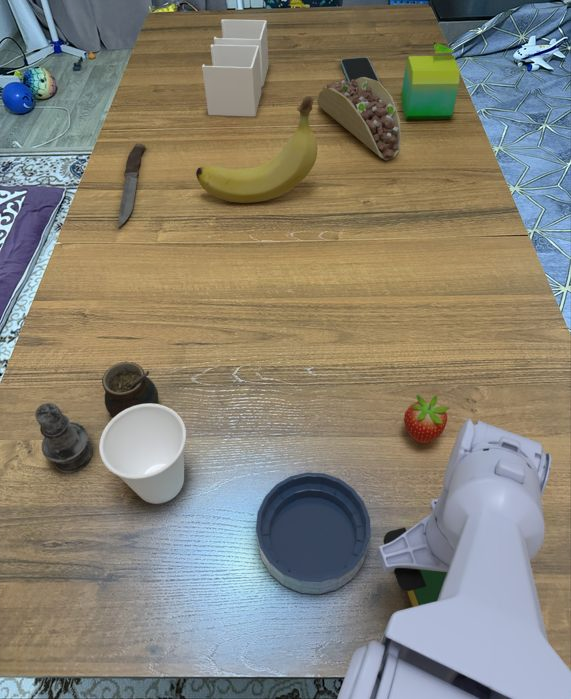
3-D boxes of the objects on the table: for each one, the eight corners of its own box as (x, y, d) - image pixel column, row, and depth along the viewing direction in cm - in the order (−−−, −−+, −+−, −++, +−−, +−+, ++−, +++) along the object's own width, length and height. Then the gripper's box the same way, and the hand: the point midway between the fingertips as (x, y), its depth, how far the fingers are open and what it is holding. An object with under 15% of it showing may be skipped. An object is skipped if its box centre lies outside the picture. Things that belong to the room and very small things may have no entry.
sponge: (458, 617, 63) (466, 608, 61) (420, 628, 63) (426, 619, 60) (433, 556, 68) (439, 545, 65) (397, 565, 67) (401, 554, 64)
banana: (199, 209, 111) (183, 110, 95) (200, 191, 114) (185, 93, 99) (317, 204, 111) (320, 104, 95) (314, 186, 115) (317, 87, 99)
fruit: (413, 459, 76) (423, 427, 70) (393, 428, 79) (401, 395, 73) (448, 444, 77) (461, 411, 71) (427, 415, 80) (437, 380, 74)
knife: (133, 229, 107) (131, 223, 106) (114, 230, 107) (112, 224, 106) (146, 147, 125) (145, 141, 124) (130, 147, 125) (129, 142, 124)
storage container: (255, 116, 132) (252, 68, 124) (208, 114, 133) (202, 66, 125) (268, 66, 148) (266, 20, 139) (226, 65, 149) (221, 19, 140)
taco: (372, 168, 118) (377, 121, 110) (305, 110, 133) (306, 66, 126) (410, 154, 121) (418, 108, 113) (341, 99, 136) (343, 55, 128)
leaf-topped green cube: (450, 123, 129) (465, 54, 117) (406, 123, 129) (417, 54, 117) (442, 99, 136) (456, 31, 124) (400, 99, 136) (410, 32, 124)
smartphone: (352, 88, 138) (339, 59, 147) (351, 93, 139) (339, 63, 148) (381, 86, 138) (367, 56, 147) (381, 90, 139) (367, 61, 148)
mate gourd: (116, 389, 84) (98, 345, 76) (168, 390, 84) (154, 346, 76) (105, 432, 79) (84, 390, 72) (159, 432, 79) (144, 391, 71)
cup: (194, 519, 71) (180, 478, 63) (114, 519, 71) (89, 478, 63) (202, 448, 77) (190, 402, 69) (129, 448, 78) (108, 402, 69)
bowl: (382, 579, 66) (386, 565, 63) (272, 608, 64) (270, 596, 61) (347, 478, 74) (349, 462, 71) (248, 502, 72) (246, 486, 69)
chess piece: (75, 428, 80) (45, 377, 71) (104, 450, 78) (78, 399, 68) (41, 459, 77) (5, 409, 68) (70, 483, 75) (38, 435, 65)
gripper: (522, 458, 53) (485, 518, 64) (372, 495, 51) (360, 550, 62) (563, 530, 49) (516, 582, 59) (401, 574, 47) (382, 619, 57)
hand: (438, 570), depth 60 cm, fingers open, 7 cm apart
